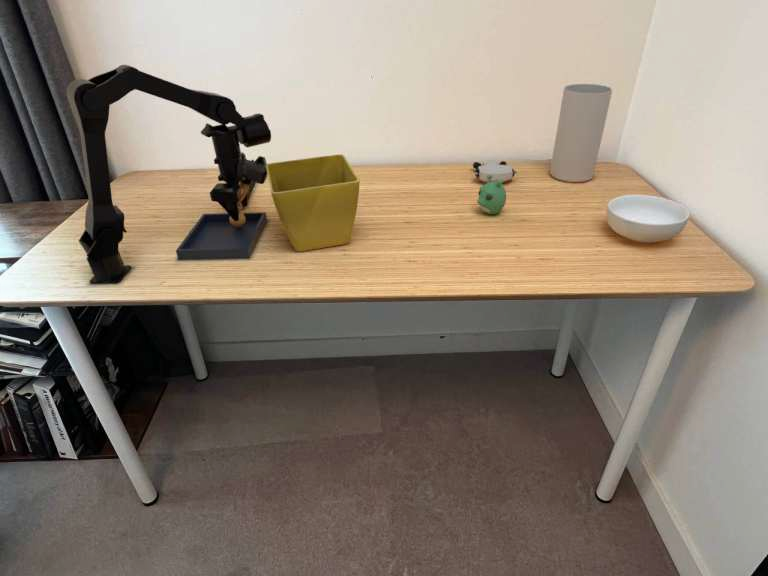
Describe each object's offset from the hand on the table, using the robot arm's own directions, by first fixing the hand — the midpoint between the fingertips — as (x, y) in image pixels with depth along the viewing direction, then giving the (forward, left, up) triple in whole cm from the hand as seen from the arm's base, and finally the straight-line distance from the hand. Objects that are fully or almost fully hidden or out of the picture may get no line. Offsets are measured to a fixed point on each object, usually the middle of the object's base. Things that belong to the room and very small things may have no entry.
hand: (241, 213), depth 120 cm
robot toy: (+31, -69, -5) cm, 75 cm away
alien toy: (+6, -64, -5) cm, 64 cm away
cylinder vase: (+31, -93, -5) cm, 98 cm away
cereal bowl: (-8, -97, -5) cm, 97 cm away
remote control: (+24, +6, -5) cm, 25 cm away
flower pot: (-5, -20, -5) cm, 21 cm away
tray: (-5, +3, -5) cm, 8 cm away
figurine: (0, 0, -4) cm, 4 cm away
